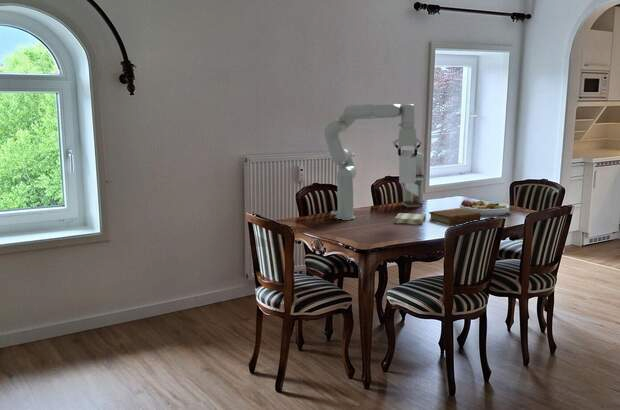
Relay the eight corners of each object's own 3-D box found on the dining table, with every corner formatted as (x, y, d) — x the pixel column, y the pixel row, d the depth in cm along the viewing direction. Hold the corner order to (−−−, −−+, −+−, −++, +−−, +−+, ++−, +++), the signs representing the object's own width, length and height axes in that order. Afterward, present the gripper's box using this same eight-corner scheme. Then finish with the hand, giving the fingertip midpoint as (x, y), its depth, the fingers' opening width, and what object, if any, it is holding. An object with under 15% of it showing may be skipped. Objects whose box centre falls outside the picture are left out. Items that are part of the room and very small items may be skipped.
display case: (401, 204, 416) (402, 152, 410) (416, 203, 418) (417, 152, 412) (407, 207, 405) (408, 154, 399) (422, 206, 407) (423, 154, 401)
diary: (450, 227, 346) (450, 217, 345) (428, 221, 362) (429, 212, 361) (480, 222, 357) (480, 212, 356) (458, 217, 373) (458, 207, 372)
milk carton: (409, 184, 351) (410, 150, 348) (398, 183, 356) (399, 150, 352) (415, 182, 357) (416, 150, 354) (404, 181, 361) (405, 149, 358)
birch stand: (394, 223, 355) (394, 218, 354) (398, 218, 370) (398, 213, 369) (422, 224, 350) (422, 219, 350) (425, 219, 365) (425, 214, 365)
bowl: (503, 208, 398) (503, 196, 397) (514, 217, 369) (514, 204, 367) (456, 208, 401) (456, 196, 400) (463, 217, 372) (463, 204, 370)
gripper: (391, 126, 350) (391, 156, 353) (422, 126, 345) (421, 156, 348) (393, 125, 357) (393, 155, 360) (423, 125, 352) (423, 155, 355)
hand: (407, 156), depth 354 cm, fingers closed on milk carton, 8 cm apart
